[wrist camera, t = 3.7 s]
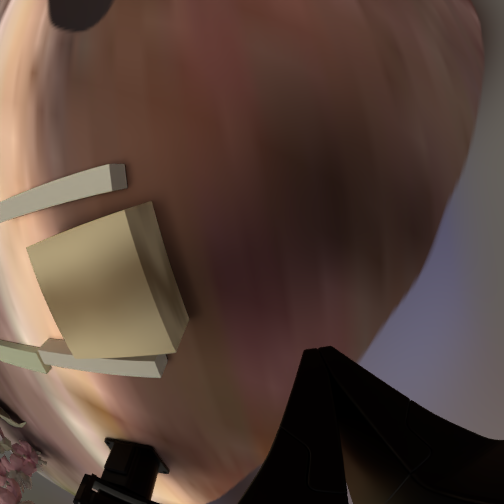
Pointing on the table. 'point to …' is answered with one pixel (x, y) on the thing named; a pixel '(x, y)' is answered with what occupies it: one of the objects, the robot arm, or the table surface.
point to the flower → (16, 466)
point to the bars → (22, 356)
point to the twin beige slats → (63, 192)
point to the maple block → (112, 286)
